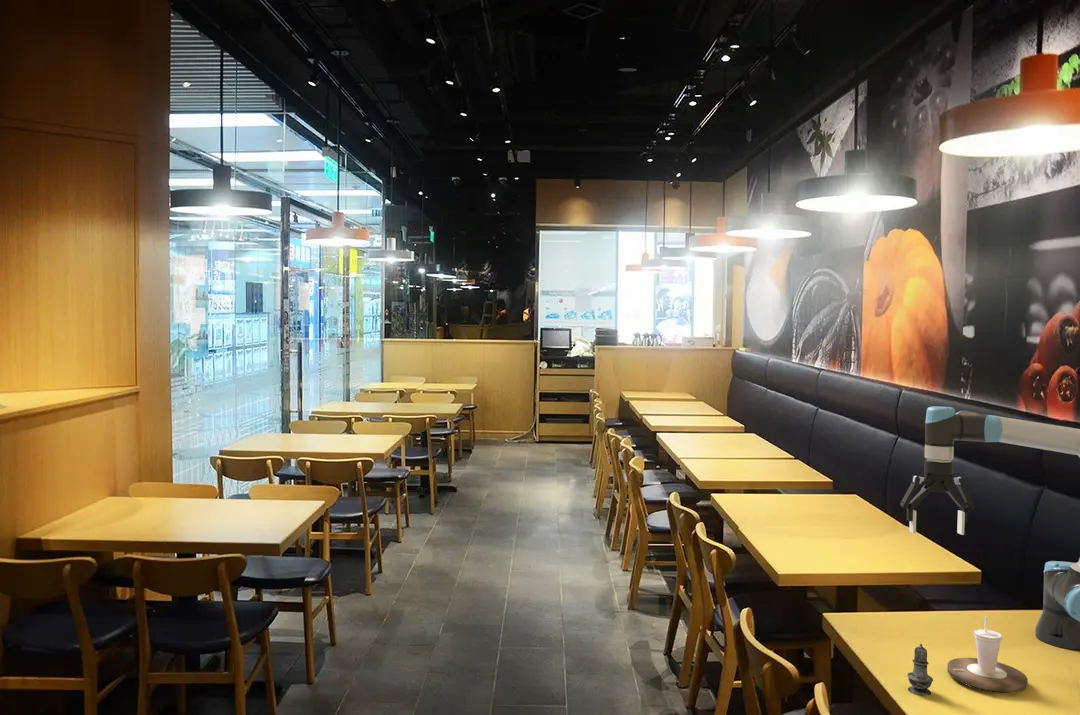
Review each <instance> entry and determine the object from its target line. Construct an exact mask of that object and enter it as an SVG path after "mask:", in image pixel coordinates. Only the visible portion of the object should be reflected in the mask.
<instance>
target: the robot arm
mask: <svg viewBox="0 0 1080 715" xmlns="http://www.w3.org/2000/svg"><path fill="white" fill-rule="evenodd" d="M924 423H925V424H924V425H925V429H924V430H925V431H924V435H925V436H924V437H925V438H924V441H925V442H924V458H925V460H924V463H923V464H924V466H923V476H917V475H915V474H914V475H912V478H911V483H910V485H909V487H908V488H907V490H906V492H905V494H904V496H903V497H902V500H901V501H900V503H899V505H900V507H902V508H904V509H906V521H908V522H909V526H908V527H909V530H908V532H910V533H912V534H917V533H916V532H917V510H915V508H916V507H917V506H919V504H921V502H922V501H923V500H924V499H925V498H926V497H927V496H928V495H929V494H931V492H932V493H941V494H943V493H944V494H945V493H947V494H948V496H949V497H950V498H951V499H952V501H954V503H955V504H956V505H957V507H959V509H960V510H957V526H956V527H957V528H956V529H957V530H956V532H957V534H959V535H962V536H964V535H965V524H967V523H968V518H969V513H970V512H971V511H975V509H976V507H975V503H974V502H973V500H972V498H971V495H970V494H969V492H968V489H967V487H966V484H965V483H966V482H965V479H964V477H961V476H957V477H953V475H954V462H953V460H954V455H955V454H954V453H955V452H954V450H955V449H954V448H955V441H962V442H963V441H965V442H978V443H979V442H980V443H981V442H983V443H997V442H999V443H1002V444H1003V443H1004V444H1010V445H1016V446H1021V447H1027V448H1028V447H1029V448H1034V449H1039V450H1043V451H1044V450H1045V451H1052V452H1057V453H1063V454H1067V455H1073V456H1077V457H1078V458H1080V428H1075V427H1070V426H1069V427H1068V426H1062V425H1057V424H1056V425H1055V424H1050V423H1043V422H1036V421H1031V420H1025V419H1017V418H1013V417H1012V418H1011V417H1005V416H999V415H994V414H993V415H992V414H984V413H981V412H980V413H978V412H972V411H971V410H970V411H969V410H960V411H958V412H956V409H955V408H954V407H952V406H951V407H950V406H934V405H933V406H929V407H927V409H926V414H925V421H924ZM922 482H923V484H924V485H923V486H922V487H921V489H920V490H919V491H918V488H919V486H920V485H921V484H922ZM953 484H955V485H956V486H957V489H958V491H959V493H960V495H961V497H962V499H963V500H962V499H961V498H960V496H958V494H957V493H956V492H955V490H954V489H953V487H952V485H953ZM917 491H918V492H917ZM916 492H917V493H916ZM915 494H916V495H915ZM914 495H915V496H914ZM963 501H964V502H963ZM1042 601H1043V604H1042V612H1041V615H1040V617H1039V619H1038V621H1037V624H1036V626H1035V633H1034V634H1035V637H1036V638H1037V639H1038V640H1040V641H1042V642H1044V643H1046V644H1049V645H1051V646H1054V647H1057V648H1058V647H1059V648H1063V649H1068V650H1076V651H1077V650H1078V651H1080V558H1078V561H1077V562H1071V561H1062V560H1061V561H1059V560H1058V561H1056V560H1050V561H1047V562H1045V564H1044V570H1043V600H1042Z"/></svg>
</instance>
